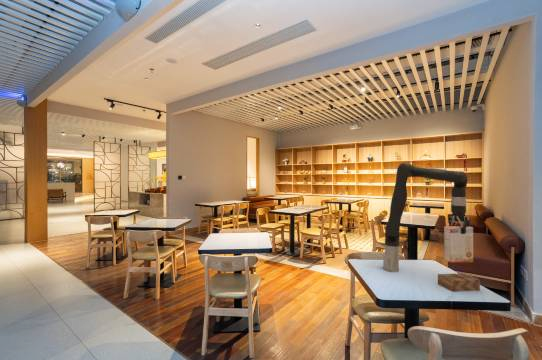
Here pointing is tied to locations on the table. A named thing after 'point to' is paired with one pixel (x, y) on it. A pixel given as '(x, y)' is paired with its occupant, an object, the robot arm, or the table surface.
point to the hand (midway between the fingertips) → (458, 232)
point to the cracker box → (458, 244)
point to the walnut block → (458, 282)
